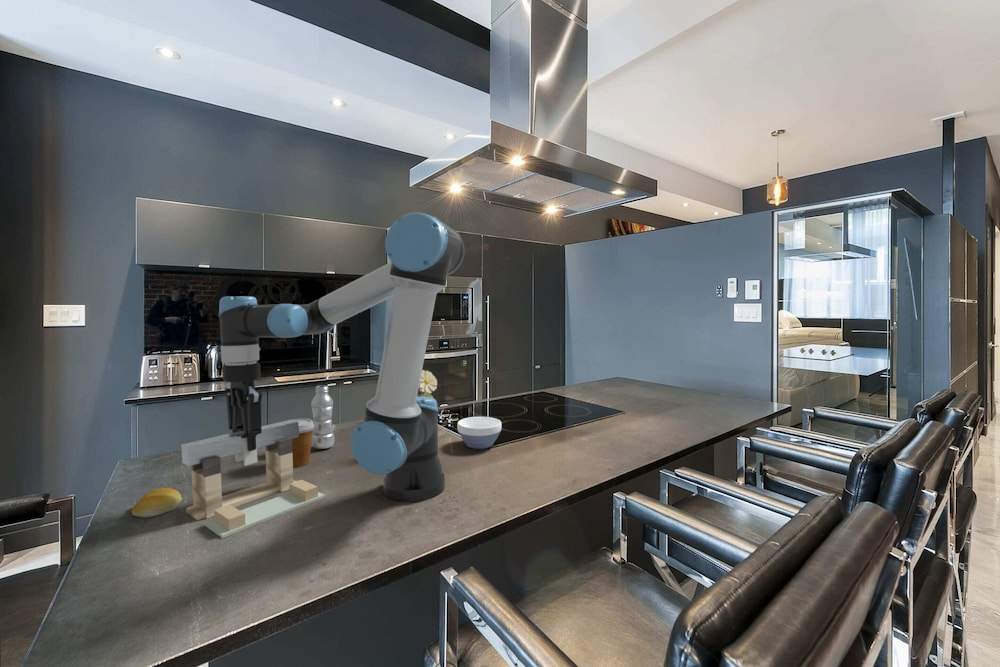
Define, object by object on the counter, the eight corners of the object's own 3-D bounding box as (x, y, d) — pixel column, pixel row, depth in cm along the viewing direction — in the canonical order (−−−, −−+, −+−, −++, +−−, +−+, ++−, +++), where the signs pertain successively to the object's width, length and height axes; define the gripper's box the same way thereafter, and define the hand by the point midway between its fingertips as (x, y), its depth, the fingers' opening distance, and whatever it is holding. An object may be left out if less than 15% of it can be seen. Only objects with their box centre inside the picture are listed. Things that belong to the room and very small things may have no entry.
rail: (298, 436, 109) (298, 421, 108) (188, 466, 89) (187, 447, 89) (291, 434, 111) (291, 419, 110) (182, 462, 91) (181, 444, 91)
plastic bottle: (339, 447, 137) (337, 385, 136) (320, 453, 131) (318, 389, 130) (326, 443, 141) (325, 383, 139) (307, 449, 135) (306, 387, 134)
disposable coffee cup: (301, 470, 117) (300, 428, 116) (271, 468, 119) (269, 426, 118) (322, 458, 126) (321, 419, 126) (294, 456, 128) (292, 417, 128)
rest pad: (325, 497, 101) (324, 485, 101) (222, 538, 83) (221, 523, 83) (306, 488, 106) (306, 477, 105) (205, 526, 88) (204, 511, 87)
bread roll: (126, 522, 90) (125, 503, 89) (144, 503, 98) (143, 486, 98) (173, 515, 93) (172, 497, 92) (187, 498, 101) (186, 481, 101)
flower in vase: (400, 456, 129) (399, 374, 127) (394, 444, 139) (392, 369, 138) (442, 450, 134) (441, 371, 133) (432, 439, 145) (432, 367, 143)
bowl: (476, 435, 150) (476, 414, 149) (510, 443, 141) (510, 420, 141) (448, 446, 138) (447, 423, 137) (483, 455, 129) (483, 431, 129)
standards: (299, 485, 107) (297, 437, 107) (198, 521, 90) (196, 463, 89) (284, 478, 112) (282, 432, 111) (185, 511, 94) (182, 456, 93)
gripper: (275, 363, 97) (280, 463, 98) (242, 359, 106) (246, 450, 108) (240, 367, 91) (246, 474, 92) (208, 362, 100) (213, 459, 102)
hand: (246, 461), depth 100 cm, fingers closed on rail, 3 cm apart
